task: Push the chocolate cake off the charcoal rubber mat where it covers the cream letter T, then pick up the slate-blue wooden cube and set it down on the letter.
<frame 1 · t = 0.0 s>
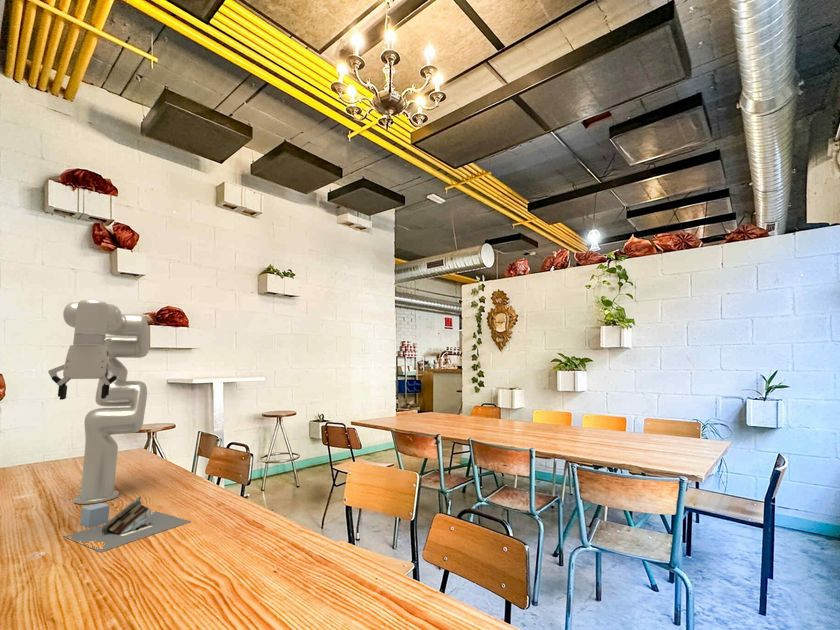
hand: (83, 398, 122), 37 cm above the table, tool pointing down, fingers open, 9 cm apart
chocolate cake: (130, 529, 120), resting on letter mat
letter mat: (130, 528, 120), on the table
cube: (94, 523, 124), on the table
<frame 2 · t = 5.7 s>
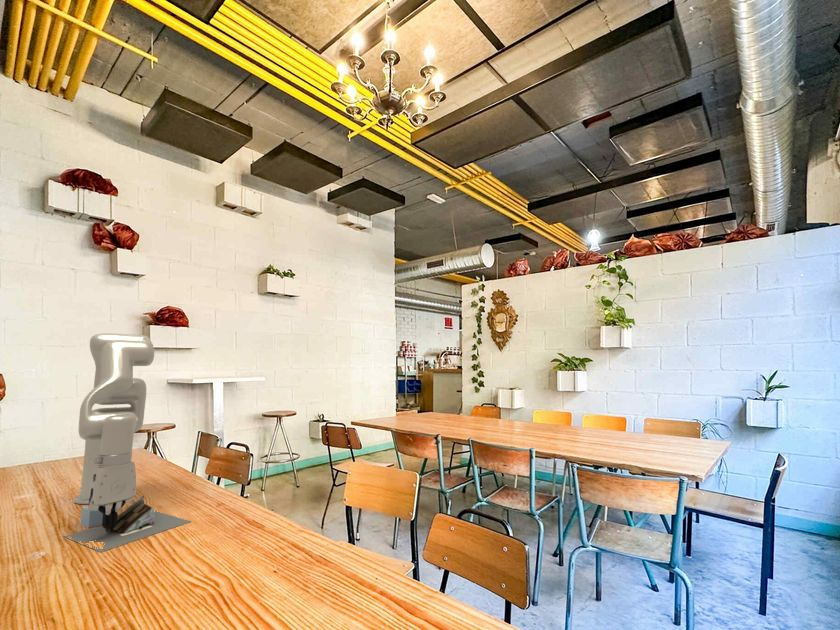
hand: (109, 527, 115), 2 cm above the table, tool pointing down, fingers closed
chocolate cake: (133, 528, 120), resting on letter mat, touching gripper
everything else where it was.
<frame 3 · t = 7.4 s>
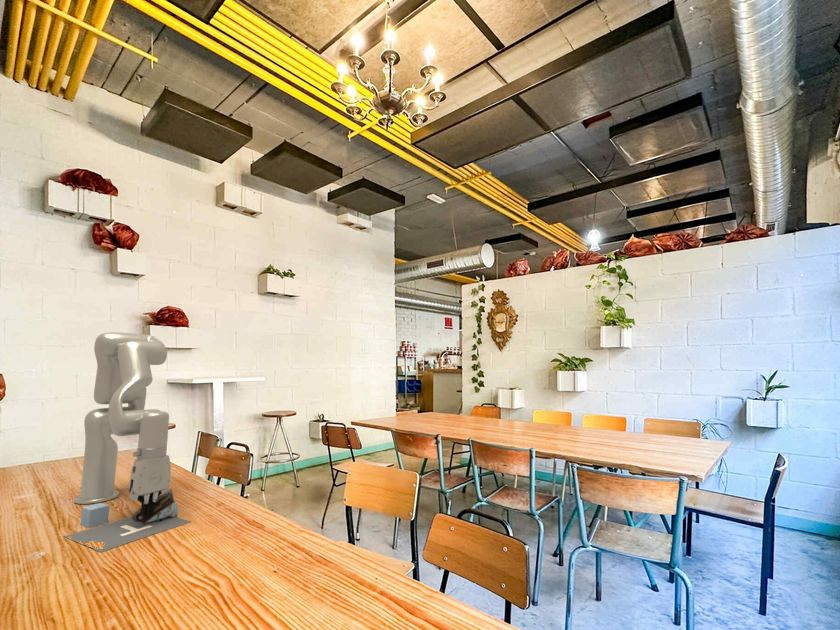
hand: (147, 516, 124), 2 cm above the table, tool pointing down, fingers closed
chocolate cake: (158, 519, 128), resting on letter mat, touching gripper
everything else where it was.
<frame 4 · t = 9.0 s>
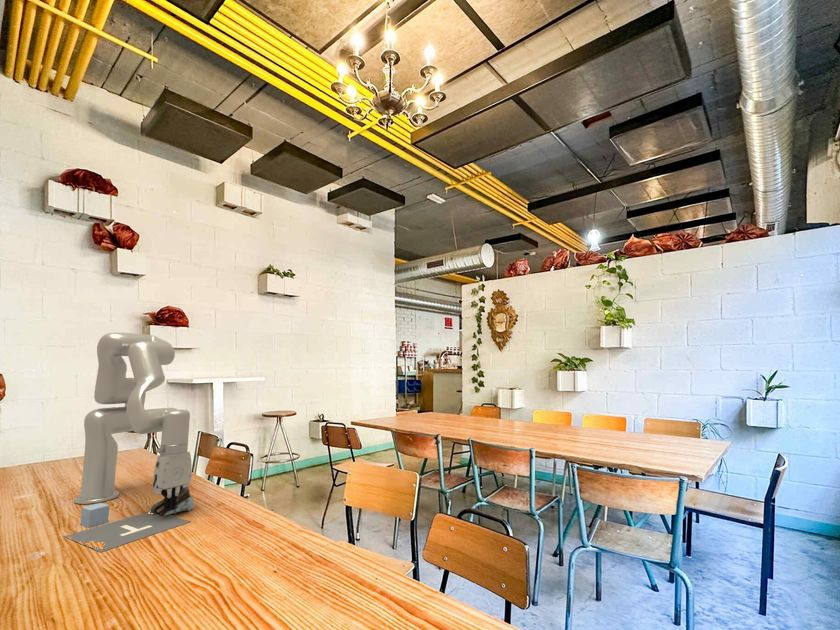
hand: (169, 509, 130), 2 cm above the table, tool pointing down, fingers closed
chocolate cake: (175, 512, 134), on the table, touching gripper
everything else where it was.
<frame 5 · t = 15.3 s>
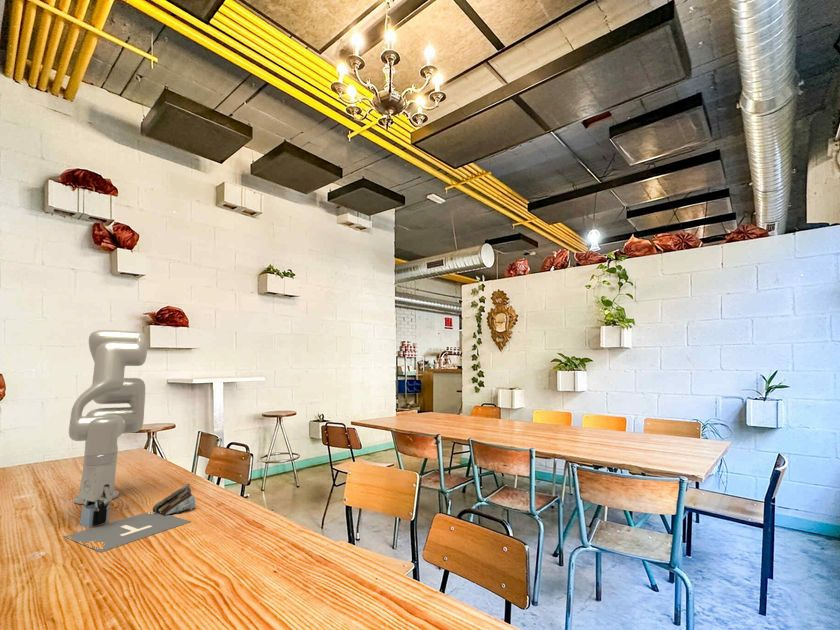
hand: (94, 521, 124), 0 cm above the table, tool pointing down, fingers closed on cube, 5 cm apart
chocolate cake: (176, 511, 134), on the table, touching letter mat
cube: (94, 523, 124), on the table, touching gripper
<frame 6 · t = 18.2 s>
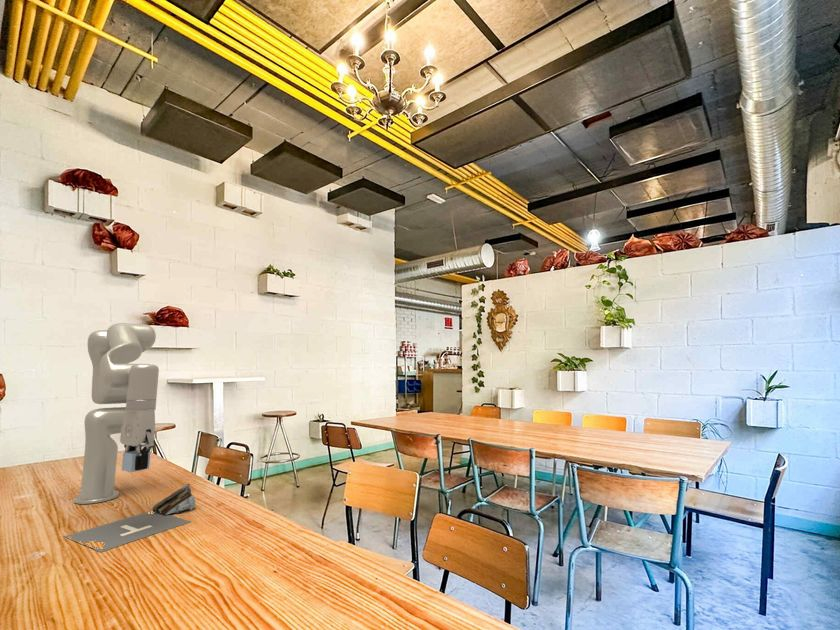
hand: (135, 467, 122), 17 cm above the table, tool pointing down, fingers closed on cube, 4 cm apart
cube: (135, 469, 122), point 17 cm above the table, touching gripper
everything else where it was.
when the fingers open (2 cm above the table, at t = 21.2 s): cube drops 2 cm, resting on letter mat.
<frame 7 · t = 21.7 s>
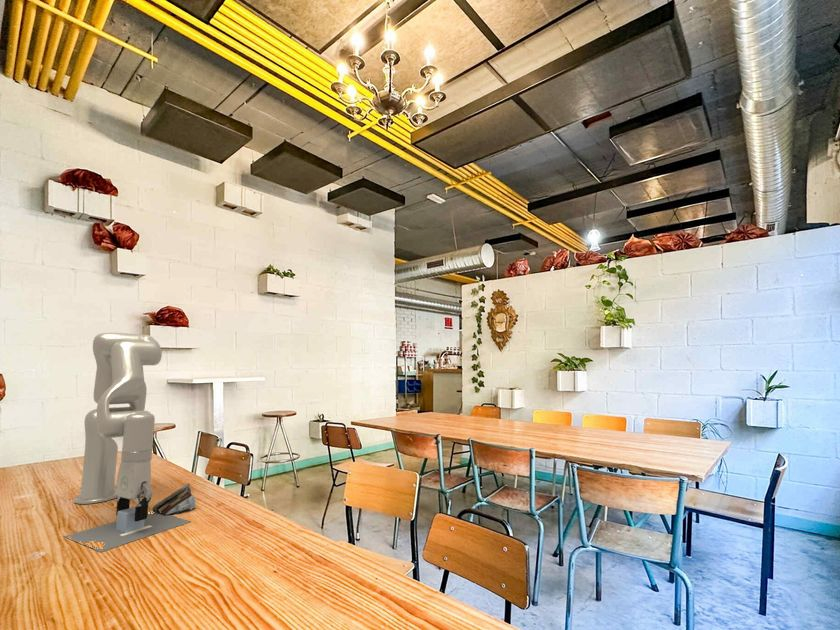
hand: (131, 516, 120), 3 cm above the table, tool pointing down, fingers open, 9 cm apart
cube: (130, 528, 120), resting on letter mat
everything else where it was.
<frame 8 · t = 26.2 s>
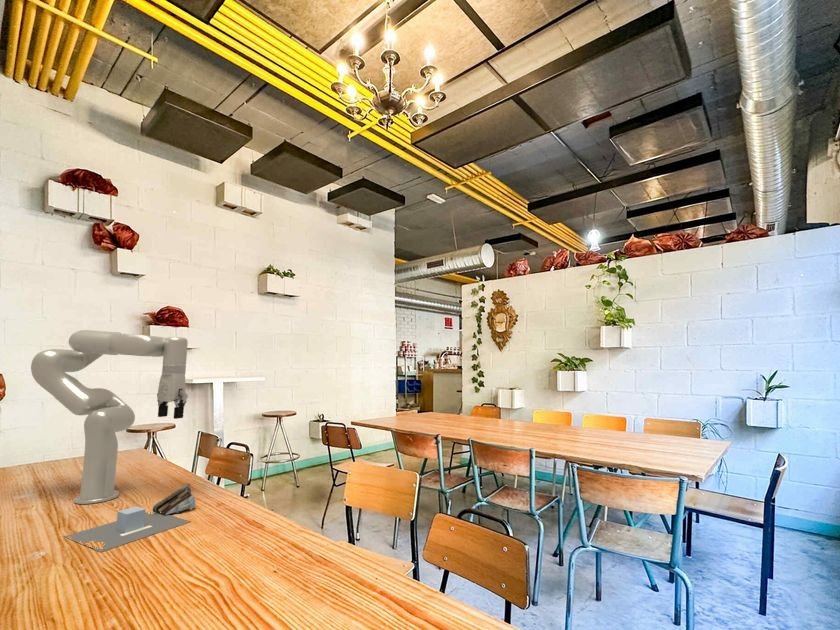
hand: (170, 417, 151), 28 cm above the table, tool pointing down, fingers open, 9 cm apart
nothing on the table moved.
at the end: cube 0.1 cm off-centre on the letter mat, point 0.1 cm above the letter mat's base; cube tilted 0°; chocolate cake inside the target area on the table beside the letter mat (5.5 cm from its centre), on the table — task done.
